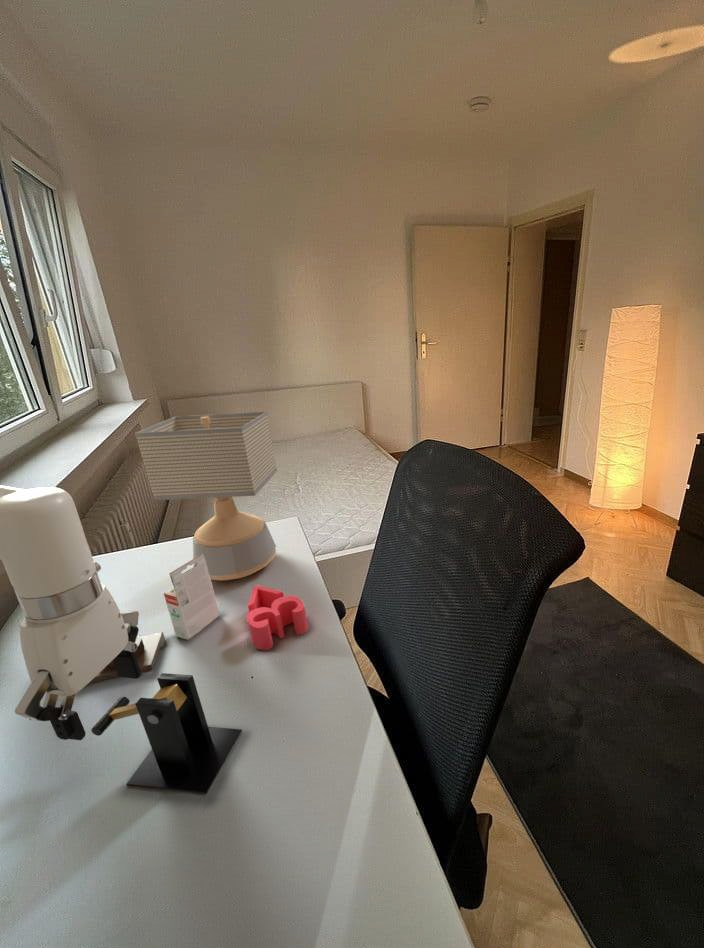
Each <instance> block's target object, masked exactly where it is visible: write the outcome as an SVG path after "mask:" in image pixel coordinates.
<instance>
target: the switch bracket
mask: <svg viewBox="0 0 704 948" xmlns="http://www.w3.org/2000/svg"><path fill="white" fill-rule="evenodd" d="M156 680H157V683H158V685H159V688H160V689H161V688H164V687H168V686H171V685H175V684H177V685H178V686H179V687H180V689H181V690H182V691H183V693H184V694H185V695H186V697H187V699H186V700H185V701H184V703H183V704H182V705H181V707H180V708H179V709H178V711H177V710H176V707H175V704H174V701H173V700H167V699H153V697H152V698H151V697H140V698H138V700H137V701H136V702H135V703H136V704H135V705H136V707H137V710H138V713H139V714H138V715H139V718H140V720H141V723H142V726H143V729H144V731H145V734H146V736H147V739H148V742H149V745H150V747H151V750H150V752H149V753H148V754H147V755H146V756H145V758H144V760H143V761H142V762H141V763H140V765H139V766H138V767H137V769H136V770H135V772H134V773H133V774H132V776H131V777H130V778H129V780H128V781H127V783H126V786H129V787H130V786H131V787H141V788H151V789H158V790H167V791H176V792H177V791H178V792H186V793H194V794H195V793H196V794H202V795H207V794H208V793H209V791H210V789H211V787H212V786H213V783H214V781H215V780H216V778H217V776H218V774H219V773H220V771H221V769H222V767H223V766H224V764H225V762H226V760H227V759H228V756H229V754H230V753H231V751H232V749H233V748H234V746H235V744H236V742H237V740H238V739H239V737H240V735H241V733H242V731H243V730H242V729H241V728H240V729H239V728H229V727H228V728H226V727H217V726H209V725H208V722H207V719H206V715H205V713H204V712H205V711H204V708H203V705H202V702H201V698H200V695H199V692H198V689H197V685H196V683H195V678H194V676H193V674H182V673H181V674H179V673H168V672H167V673H166V672H165V673H164V672H162V673H160V675H158V677H157V679H156Z"/></svg>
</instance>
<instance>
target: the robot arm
mask: <svg viewBox="0 0 704 948" xmlns="http://www.w3.org/2000/svg"><path fill="white" fill-rule="evenodd" d="M0 560H1V562H2V564H3V567H4V569H5V573H6V575H7V577H8V579H9V582H10V584H11V586H12V588H13V591H14V593H15V596H16V599H17V600H18V604H19V606H20V608H21V610H22V612H23V615H24V618H23V619H22V620H21V621H20V622H19V624H18V627H19V630H18V632H19V640H20V641H19V642H20V647H21V652H22V656H23V661H24V665H25V667H26V670H27V673H28V676H29V679H30V681H31V684H30V685H29V687H28V688H27V690H26V691H25V692H24V694H23V696H22V698H21V699H20V701H19V702H18V704H17V706H16V707H15V709H14V713H15V715H16V716H20V717H23V718H25V719H28V720H29V721H38V722H50V725H51V727H52V729H53V731H54V734H55V735H56V737H57V738H58V739H60V740H64V741H67V740H74V741H82V740H84V738H85V737H86V730H85V728H84V725H83V724H82V721H81V718H80V715H79V713H78V712H77V711H76V710H73V706H74V703H75V699H76V695H77V693H79V692H80V691H82V690H83V689H84V688H85V687H86V686H88V685H87V684H88V683H89V682H90V681H91V680H92V679H93V678H95V677H96V676H97V675H98V674H99V673H100V672H101V671H102V670H103V669H104V668H105V667H106V666H107V665H108V664H109V663H110V662H111V661H112V660H113V662H114V665H115V668H116V671H117V674H118V676H119V677H121V678H123V679H135V680H136V679H140V677H141V676H142V673H141V671H140V667H139V664H138V661H137V658H136V655H135V653H134V652H135V651H136V649H137V643H135V641H136V638H137V635H139V631H140V630H139V627H138V625H139V616H140V613H139V611H137V610H126V611H121V610H120V609H119V606H118V605H117V602H116V600H115V599H114V597H113V595H112V594H111V592H110V591H109V589H108V588H107V587H106V585H105V584H103V583H102V582H101V579H100V575H99V572H100V571H101V570H102V567H101V565H100V564H99V563H98V562H96V561H94V558H93V555H92V552H91V548H90V545H89V542H88V540H87V537H86V534H85V531H84V528H83V524H82V522H81V519H80V516H79V512H78V510H77V507H76V503H75V501H74V499H73V497H72V496H71V494H70V493H69V492H67V491H66V490H64V489H62V488H59V487H47V486H45V487H36V488H35V487H34V488H29V489H25V488H18V487H11V486H6V485H0ZM44 696H45V697H44ZM59 696H62V698H61V702H60V704H59V705H60V706H56V705H57V702H58V698H59ZM43 698H44V701H43V703H42V706H41V701H42V700H43Z"/></svg>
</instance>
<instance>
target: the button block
mask: <svg viewBox="0 0 704 948" xmlns="http://www.w3.org/2000/svg"><path fill="white" fill-rule="evenodd" d="M135 643H137V649H136V651H135V652H134V653H135V655H136V658H137V661H138V664H139V667H140V671H141V674H142V673H147V672H151V671H154V669H155V665H156V663H157V660H158V657H159V654H160V651H161V648H162V647H163V648H164V647H165V644H166V638H165V634H164V631H158V632H154V633H150V634H144V635H140V634H138V635H137V638H136V641H135ZM120 678H122V677H119V676H118V674H117V671H116V668H115V665H114V662H113V660H112V661H111V662H110V663H109V664H108V665H107V666H106V667H105V668H104V669H103V670H102V671H101V672H100V673H99V674H98V675H97V676H96V677H95V678H93V679H92V680H91V681H90V682H89V683H88V684H87V685H86V686H89V685H94V684H98V683H103V682H108V681H111V680H112V681H113V680H116V679H120Z"/></svg>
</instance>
